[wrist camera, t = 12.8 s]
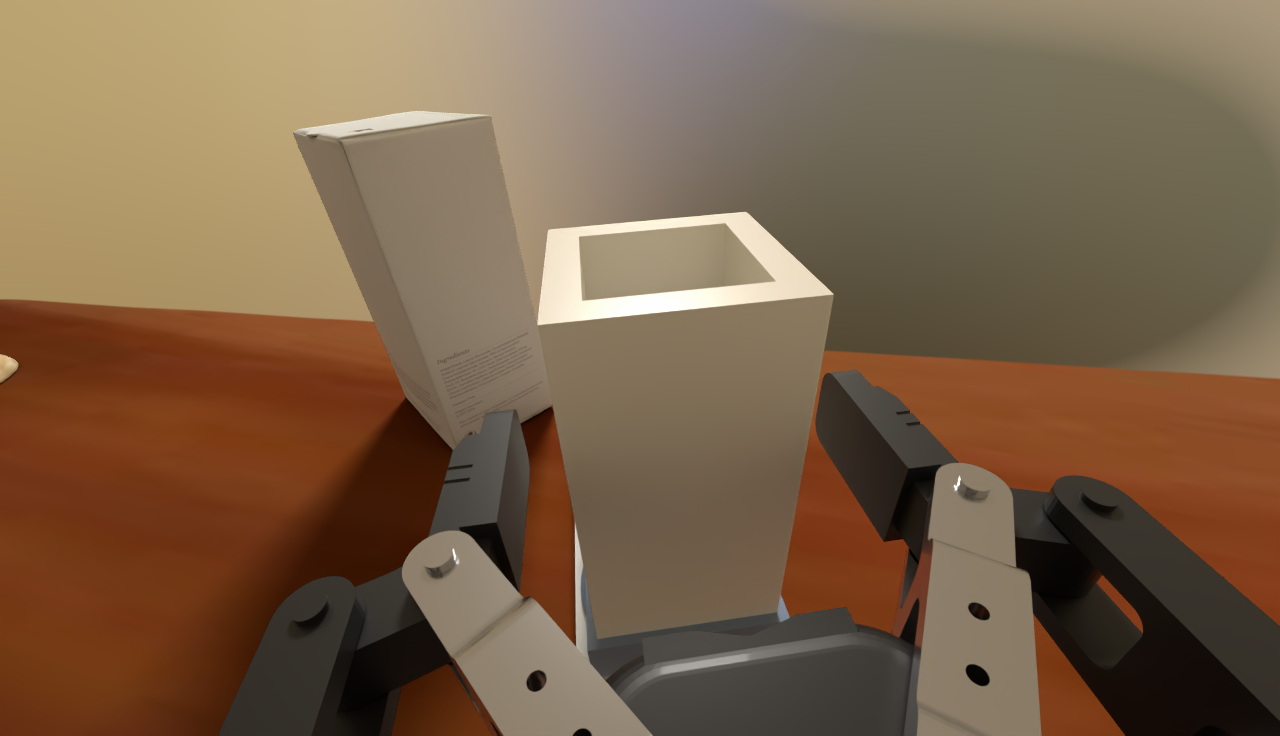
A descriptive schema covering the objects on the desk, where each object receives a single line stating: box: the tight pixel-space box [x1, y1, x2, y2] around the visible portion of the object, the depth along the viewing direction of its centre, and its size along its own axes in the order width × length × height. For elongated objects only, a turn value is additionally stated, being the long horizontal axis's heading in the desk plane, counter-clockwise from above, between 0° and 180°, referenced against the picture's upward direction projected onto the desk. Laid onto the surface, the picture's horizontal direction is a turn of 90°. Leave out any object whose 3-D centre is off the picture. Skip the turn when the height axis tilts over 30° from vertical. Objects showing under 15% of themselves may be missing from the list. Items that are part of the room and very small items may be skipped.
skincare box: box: [293, 111, 553, 450], centre depth 26 cm, size 8×7×16 cm
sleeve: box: [537, 212, 834, 677], centre depth 14 cm, size 6×6×12 cm
